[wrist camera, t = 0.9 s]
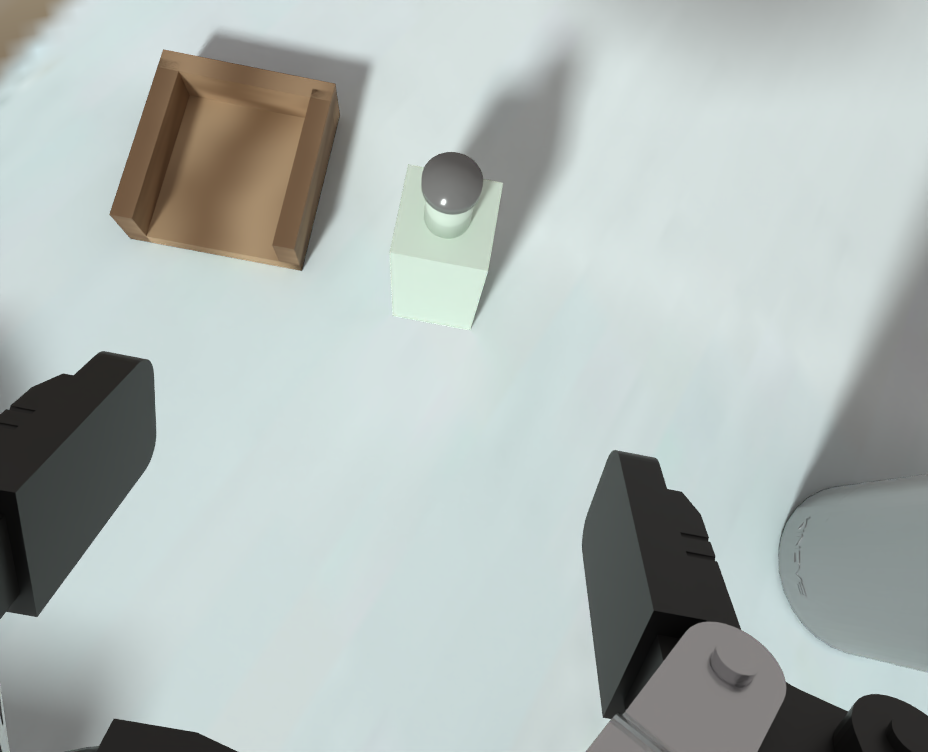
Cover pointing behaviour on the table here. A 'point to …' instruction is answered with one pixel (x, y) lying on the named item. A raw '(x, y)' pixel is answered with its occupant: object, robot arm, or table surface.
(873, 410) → the table surface
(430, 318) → the bottle
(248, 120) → the rest
